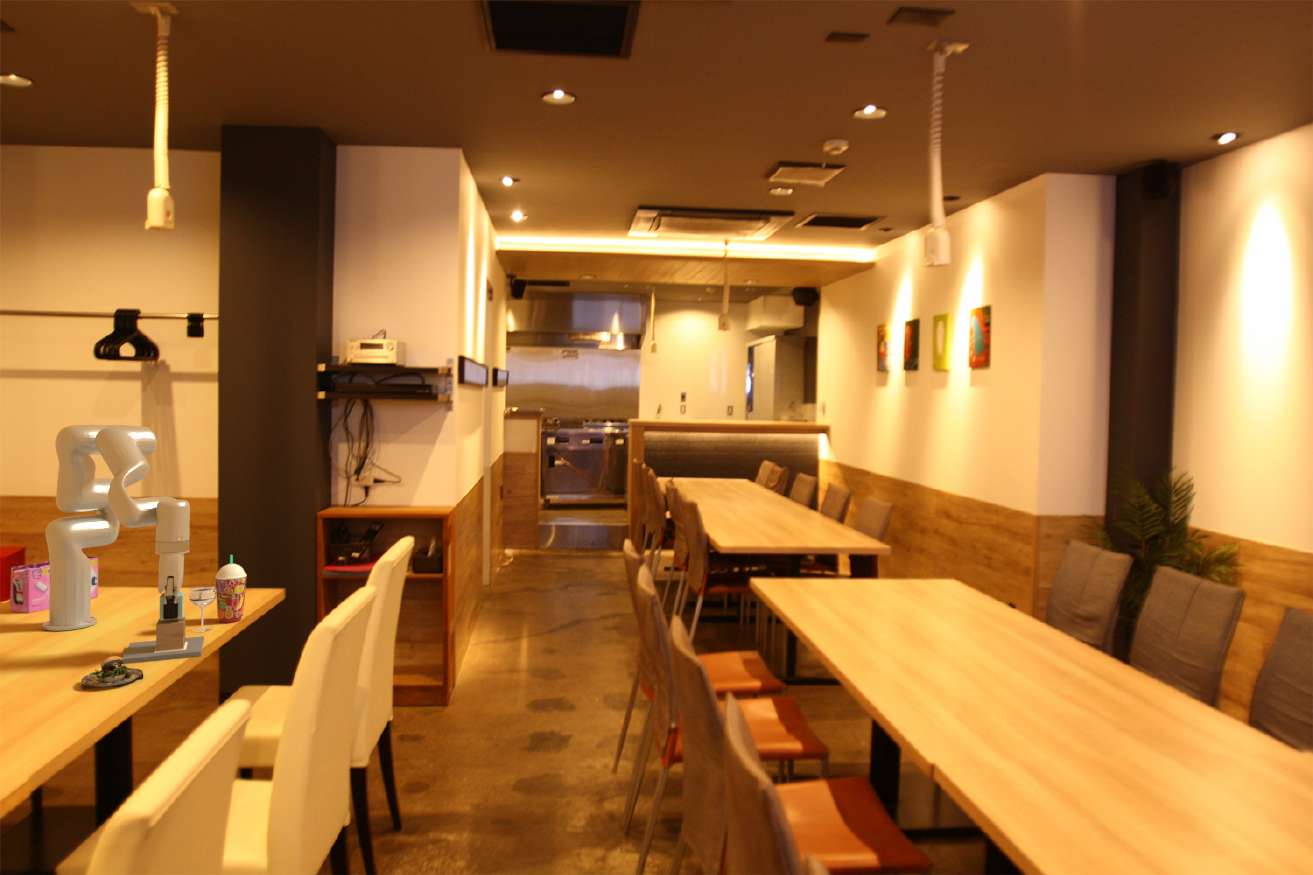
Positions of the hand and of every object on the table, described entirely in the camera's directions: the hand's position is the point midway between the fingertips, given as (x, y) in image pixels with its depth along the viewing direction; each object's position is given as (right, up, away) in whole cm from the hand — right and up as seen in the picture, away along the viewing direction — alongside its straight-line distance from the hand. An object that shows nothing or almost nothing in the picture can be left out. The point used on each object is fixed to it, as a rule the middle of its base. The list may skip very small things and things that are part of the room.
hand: (171, 615), depth 203 cm
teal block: (0, -1, 0) cm, 1 cm away
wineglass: (-4, -9, +21) cm, 23 cm away
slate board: (-2, -10, 0) cm, 10 cm away
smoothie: (-2, -9, +32) cm, 33 cm away
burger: (0, -11, -23) cm, 25 cm away
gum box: (-65, -7, +44) cm, 79 cm away
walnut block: (0, -8, 0) cm, 8 cm away
